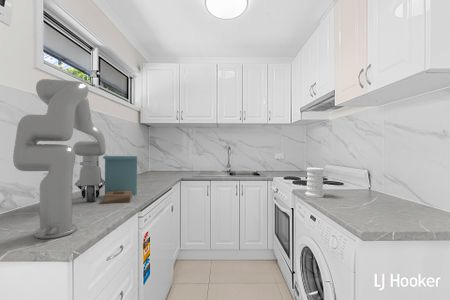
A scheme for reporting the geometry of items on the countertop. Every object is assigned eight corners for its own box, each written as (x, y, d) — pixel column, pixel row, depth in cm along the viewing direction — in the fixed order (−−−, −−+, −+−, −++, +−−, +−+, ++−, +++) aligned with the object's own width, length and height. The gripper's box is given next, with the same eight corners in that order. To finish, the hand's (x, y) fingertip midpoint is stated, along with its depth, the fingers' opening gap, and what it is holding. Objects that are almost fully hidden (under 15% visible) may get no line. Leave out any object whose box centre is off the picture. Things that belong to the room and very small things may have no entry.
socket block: (129, 202, 128) (129, 195, 128) (103, 203, 125) (103, 196, 124) (131, 197, 141) (131, 190, 141) (107, 198, 137) (107, 191, 137)
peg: (93, 202, 127) (94, 183, 127) (85, 202, 126) (85, 184, 126) (95, 200, 131) (95, 182, 131) (87, 200, 130) (87, 182, 130)
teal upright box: (136, 196, 142) (136, 156, 141) (103, 198, 136) (103, 156, 136) (136, 194, 149) (137, 155, 148) (105, 195, 143) (105, 155, 143)
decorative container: (315, 198, 148) (316, 169, 148) (301, 194, 158) (302, 167, 158) (327, 196, 154) (328, 168, 153) (313, 192, 164) (314, 167, 163)
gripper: (70, 165, 122) (70, 199, 122) (107, 164, 127) (106, 198, 127) (74, 163, 129) (74, 196, 129) (109, 163, 134) (109, 195, 135)
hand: (90, 196), depth 128 cm, fingers open, 5 cm apart
